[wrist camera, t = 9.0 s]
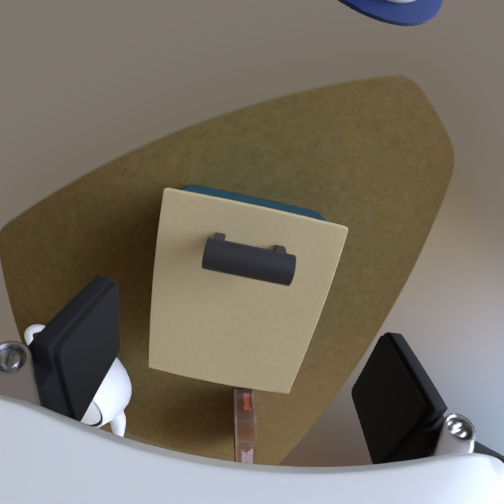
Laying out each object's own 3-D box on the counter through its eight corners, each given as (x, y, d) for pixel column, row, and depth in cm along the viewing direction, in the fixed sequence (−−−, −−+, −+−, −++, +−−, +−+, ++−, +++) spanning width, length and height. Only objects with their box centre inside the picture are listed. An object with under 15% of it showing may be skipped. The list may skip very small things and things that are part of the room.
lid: (166, 187, 19) (140, 199, 15) (345, 225, 20) (370, 248, 16) (150, 361, 24) (134, 400, 20) (287, 387, 25) (292, 429, 20)
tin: (233, 375, 36) (229, 425, 28) (257, 376, 36) (258, 426, 28) (233, 439, 41) (231, 482, 33) (253, 440, 41) (253, 482, 33)
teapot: (28, 318, 34) (-12, 358, 24) (82, 287, 32) (34, 334, 22) (112, 421, 40) (92, 468, 30) (175, 410, 38) (160, 467, 28)
